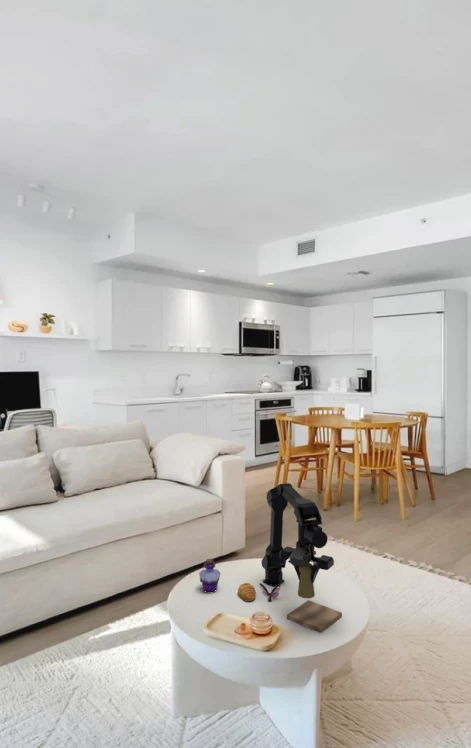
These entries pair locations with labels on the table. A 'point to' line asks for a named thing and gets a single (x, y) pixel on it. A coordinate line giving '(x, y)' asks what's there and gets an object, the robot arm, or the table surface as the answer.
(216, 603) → the table surface
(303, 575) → the olive rounded upright piece
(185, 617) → the table surface
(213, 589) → the potion bottle
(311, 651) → the table surface
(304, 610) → the walnut board
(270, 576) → the robot arm
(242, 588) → the pastry
